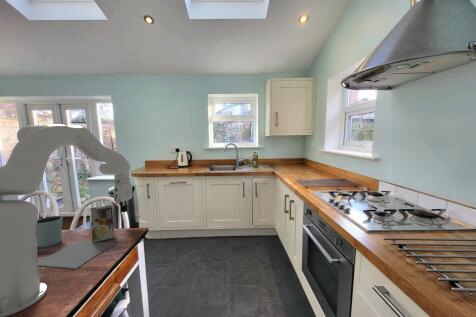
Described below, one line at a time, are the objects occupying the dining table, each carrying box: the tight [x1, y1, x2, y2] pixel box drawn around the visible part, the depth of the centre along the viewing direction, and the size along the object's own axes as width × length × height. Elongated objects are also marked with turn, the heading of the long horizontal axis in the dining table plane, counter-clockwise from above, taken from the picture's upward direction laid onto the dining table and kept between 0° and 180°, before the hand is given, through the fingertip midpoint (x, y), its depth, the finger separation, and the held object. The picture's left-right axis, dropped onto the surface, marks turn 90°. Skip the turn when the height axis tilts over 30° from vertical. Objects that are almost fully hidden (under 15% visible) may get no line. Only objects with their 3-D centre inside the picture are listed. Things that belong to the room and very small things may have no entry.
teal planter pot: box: [36, 215, 64, 248], centre depth 94 cm, size 10×10×12 cm
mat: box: [38, 240, 115, 270], centre depth 84 cm, size 19×20×1 cm
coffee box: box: [90, 204, 115, 243], centre depth 97 cm, size 9×6×16 cm
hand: (123, 211), depth 112 cm, fingers closed
